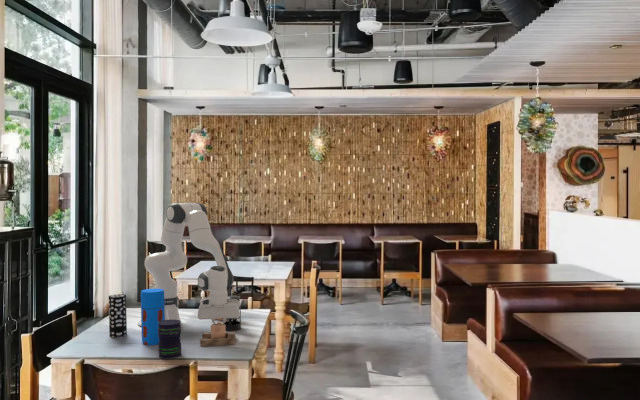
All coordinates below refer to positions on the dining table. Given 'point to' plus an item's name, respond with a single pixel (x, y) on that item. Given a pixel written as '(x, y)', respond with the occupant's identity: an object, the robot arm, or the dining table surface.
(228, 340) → the brown block arch
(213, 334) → the tan rounded piece
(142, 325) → the thermos
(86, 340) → the dining table surface
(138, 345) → the dining table surface
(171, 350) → the storage jar
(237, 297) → the french press
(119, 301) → the white-spotted black cylinder
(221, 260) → the robot arm
